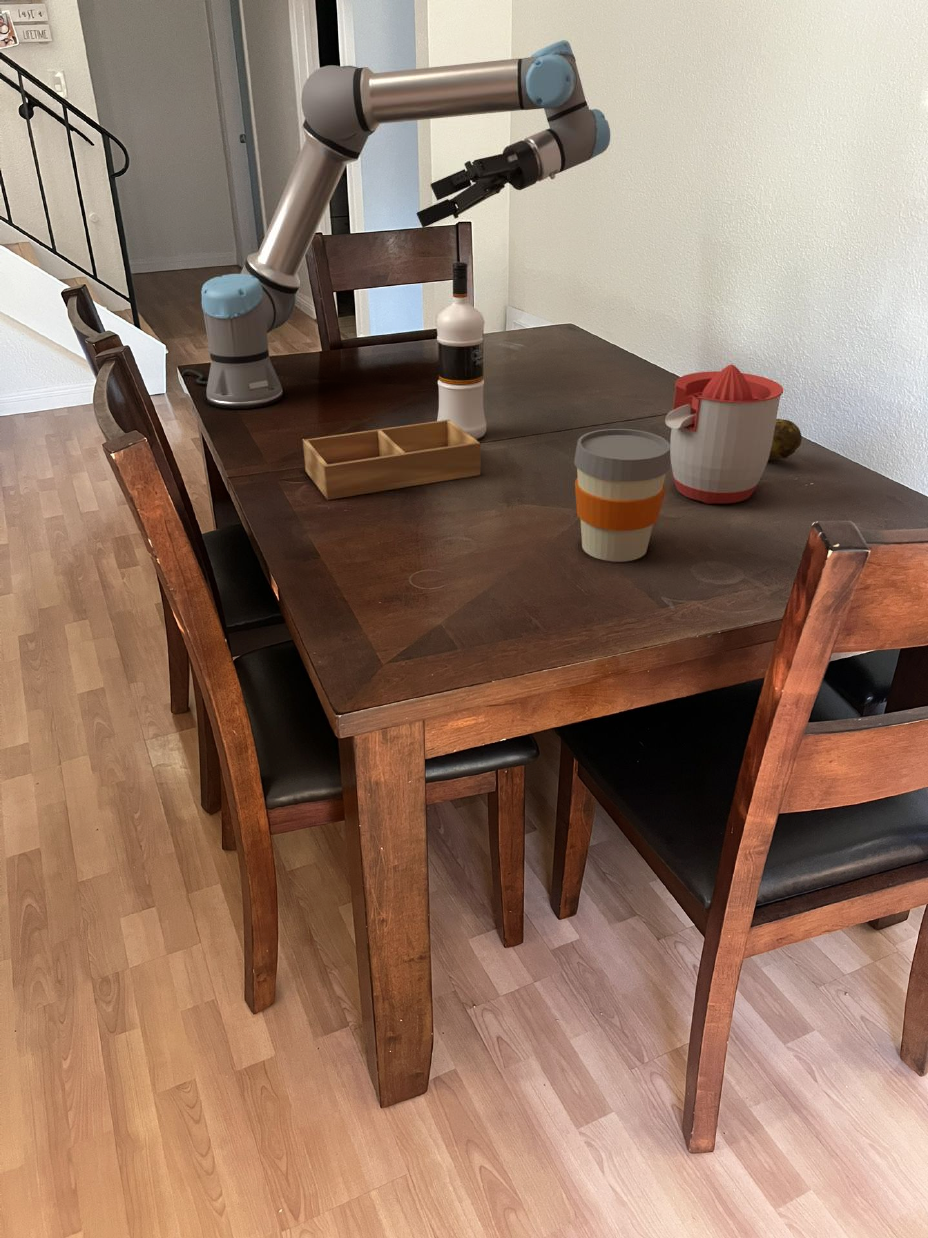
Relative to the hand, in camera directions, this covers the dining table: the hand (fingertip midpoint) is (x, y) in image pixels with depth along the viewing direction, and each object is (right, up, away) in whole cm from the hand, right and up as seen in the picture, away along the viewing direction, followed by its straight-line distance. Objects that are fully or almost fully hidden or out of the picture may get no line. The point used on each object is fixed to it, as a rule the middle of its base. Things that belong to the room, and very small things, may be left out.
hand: (426, 206), depth 158 cm
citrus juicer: (+45, -53, -17) cm, 72 cm away
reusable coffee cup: (+28, -63, -34) cm, 77 cm away
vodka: (+6, -39, +7) cm, 40 cm away
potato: (+58, -46, -5) cm, 74 cm away
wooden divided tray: (-5, -49, -9) cm, 50 cm away
